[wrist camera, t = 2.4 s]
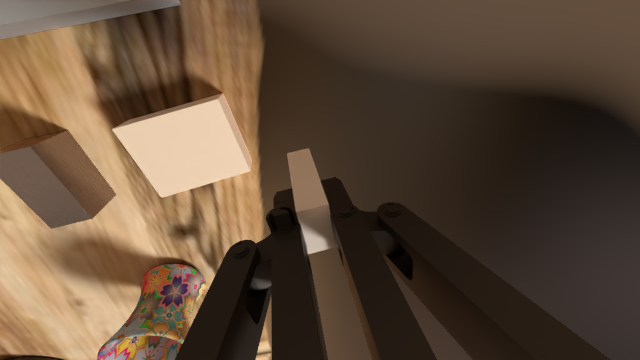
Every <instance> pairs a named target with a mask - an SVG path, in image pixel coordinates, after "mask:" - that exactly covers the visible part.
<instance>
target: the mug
mask: <svg viewBox="0 0 640 360" xmlns="http://www.w3.org/2000/svg"><path fill="white" fill-rule="evenodd" d="M205 287H206V282H205V279H204V277H203V275H202V274H201V273H200V272H199V271H197V270H196V269H194V268H192V267H190V266H186V265H182V264H165V265H161V266H157V267H155V268H153V269H151V270H150V271H148V272H147V273H146V274H145V275H144V277H143V278H142V281H141V296H140V299H139V302H138V304H137V306H136V308H135V310H134V311H133V313H132V314H131V316H130V317H129V319H128V320H127V321H126V323H125V324H124V325H123V326H122V327H121V328H120V330H119V331H118V332H117V333H116V334H115V335H114V336H113V337H111V338H110V339H109V340H108V341H107V342H106V343H105V344H104V345H103V346H102V347H101V349H100V350H99V352H98V360H175V358H176V356H177V354H178V352H179V350H180V348H181V345H182V343H183V341H184V339H185V337H186V335H187V333H188V331H189V329H190V319H191V314H192V311H193V308H194V305H195V303H196V301H197V300H198V298H199V297H200V296H201V295H202V293H203V292H204V290H205Z"/></svg>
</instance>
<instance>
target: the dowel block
mask: <svg viewBox="0 0 640 360" xmlns="http://www.w3.org/2000/svg"><path fill="white" fill-rule="evenodd" d="M177 5H181V4H180V1H179V0H0V39H5V38H10V37H15V36H21V35H26V34H31V33H36V32H42V31H47V30H52V29H57V28H62V27H68V26H73V25H78V24H83V23H89V22H94V21H99V20H104V19H109V18H115V17H120V16H125V15H130V14H136V13H141V12H146V11H151V10H156V9H162V8H167V7H172V6H177Z"/></svg>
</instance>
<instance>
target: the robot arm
mask: <svg viewBox="0 0 640 360" xmlns="http://www.w3.org/2000/svg"><path fill="white" fill-rule="evenodd" d="M287 156H288V162H289V169H290V176H291V183H292V188H291V189H287V190H283V191H279V192H277V193H276V195H275V196H274V209H272V210H271V211H270V212H269V213H268V214H267V216H266V220H267V223H268V225H269V228H270V230H271V234H270V235H269V236H268V237H267V238H265V239H263V240H262V241H260V242H258V243H256V244H255V242H253V241H252V240H243V241H240V242H238V243H236V244H234V245H233V246H232V247H230V249H229V250H228V251H227V253H226V255H225V257H224V259H223V261H222V263H221V265H220V267H219V269H218V272H217V274H216V276H215V278H214V280H213V282H212V284H211V286H210V288H209V290H208V292H207V294H206V296H205V298H204V300H203V302H202V304H201V306H200V308H199V311H198V313H197V315H196V317H195V319H194V321H193V323H192V325H191V327H190V329H189V331H188V333H187V335H186V337H185V339H184V341H183V343H182V345H181V348H180V350H179V352H178V354H177V356H176V358H175V360H255V359H256V355H257V351H258V346H259V342H260V338H261V334H262V330H263V326H264V322H265V318H266V314H267V309H268V305H269V301H270V297H271V299H272V360H328V357H327V351H326V345H325V340H324V335H323V329H322V323H321V318H320V312H319V307H318V302H317V297H316V291H315V285H314V280H313V275H312V269H311V263H310V260H309V256H308V254H311V253H314V252H318V251H322V250H326V249H330V248H333V247H338V252H339V257H340V262H341V265H342V266H343V269H344V272H345V275H346V279H347V281H348V285H349V288H350V291H351V294H352V297H353V300H354V304H355V307H356V310H357V313H358V316H359V319H360V323H361V325H362V329H363V332H364V335H365V338H366V342H367V345H368V348H369V351H370V354H371V357H372V360H437V359H436V357H435V355H434V353H433V351H432V349H431V347H430V345H429V344H428V342H427V340H426V338H425V336H424V334H423V332H422V330H421V328H420V326H419V324H418V322H417V320H416V318H415V317H414V315H413V313H412V311H411V309H410V307H409V305H408V303H407V301H406V299H405V297H404V295H403V293H402V292H401V290H400V288H399V286H398V284H397V282H396V280H395V278H394V276H393V274H392V272H391V270H390V269H389V266H390V267H391V268H392V269H393V270H394V271H395V273H396V274H397V275H398V276H399V277H400V278H401V279H402V281H403V282H404V283H405V284H406V285H407V286H408V287H409V288H410V289H411V291H413V293H414V294H415V295H416V296H417V297H418V299H419V300H420V301H421V302H422V303H423V304H424V305H425V306H426V307H427V309H428V310H429V311H430V312H431V313H432V314H433V315H434V317H435V318H436V319H437V320H438V321H439V322H440V323H441V324H442V326H443V327H444V328H445V329H446V330H447V331H448V332H449V333H450V335H451V336H452V337H453V338H454V339H455V340H456V341H457V342H458V344H459V345H460V346H461V347H462V348H463V349H464V350H465V351H466V353H467V354H468V355H469V356H470V357H471V358H472V359H473V360H610V359H609V358H607V357H606V356H605V355H604V354H602V353H601V352H599V351H598V350H597V349H595V348H594V347H593V346H591V345H590V344H589V343H587V342H586V341H585V340H583V339H582V338H581V337H579V336H578V335H577V334H575V333H574V332H573V331H571V330H570V329H568V328H567V327H566V326H565V325H563V324H562V323H561V322H559V321H558V320H556V319H555V318H554V317H553V316H551V315H550V314H549V313H547V312H546V311H544V310H543V309H542V308H541V307H539V306H538V305H536V304H535V303H534V302H532V301H531V300H530V299H528V298H527V297H526V296H524V295H523V294H522V293H520V292H519V291H518V290H516V289H515V288H514V287H512V286H511V285H510V284H508V283H507V282H506V281H504V280H503V279H502V278H500V277H499V276H498V275H496V274H495V273H493V272H492V271H491V270H490V269H488V268H487V267H486V266H484V265H483V264H482V263H480V262H479V261H477V260H476V259H475V258H473V257H472V256H471V255H469V254H468V253H467V252H465V251H464V250H463V249H461V248H460V247H459V246H457V245H456V244H455V243H453V242H452V241H450V240H449V239H448V238H447V237H445V236H444V235H442V234H441V233H440V232H439V231H437V230H436V229H435V228H433V227H432V226H431V225H429V224H428V223H426V222H425V221H424V220H423V219H421V218H420V217H418V216H417V215H416V214H414V213H413V212H412V211H410V210H409V209H408V208H406V207H405V206H404V205H401V204H400V203H395V202H388V203H384V204H382V205H380V206H379V207H378V209H377V212H365V211H361V210H359V209H358V208H357V207H356V206H354V205H353V204H352V201H351V200H350V198H349V196H348V194H347V192H346V190H345V188H344V186H343V184H342V182H341V180H339V179H338V178H336V177H333V178H330V179H325V180H322V181H320V179H319V176H318V173H317V170H316V167H315V164H314V162H313V159H312V156H311V153H310V151H309V149H304V150H300V151H296V152H291V153H287ZM387 264H388V265H389V266H388V265H387ZM7 360H58V359H52V358H41V357H23V358H13V359H7Z"/></svg>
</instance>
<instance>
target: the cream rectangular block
mask: <svg viewBox="0 0 640 360" xmlns="http://www.w3.org/2000/svg"><path fill="white" fill-rule="evenodd" d="M112 130H113V132H114V133H115V135H116V136H117V137H118V139H119V140H120V141H121V143H122V144H123V146H124V147H125V148H126V150H127V151H128V152H129V154H130V155H131V157H132V158H133V159H134V161H135V162H136V163H137V165H138V166H139V168H140V169H141V170H142V172H143V173H144V174H145V176H146V177H147V179H148V180H149V181H150V183H151V184H152V186H153V187H154V188H155V190H156V191H157V192H158V194H159V195H160V197H161V198H163V197H166V196H169V195H173V194H176V193H179V192H183V191H186V190H189V189H193V188H196V187H199V186H203V185H206V184H209V183H213V182H216V181H219V180H222V179H226V178H229V177H232V176H236V175H239V174H242V173H246V172H249V171H250V170H251V162H252V159H251V156H250V154H249V152H248V149H247V147H246V145H245V142H244V140H243V138H242V136H241V133H240V131H239V129H238V126H237V124H236V122H235V119H234V117H233V115H232V112H231V110H230V108H229V105H228V103H227V101H226V98H225V96H224V94H223V93H221V94H218V95H214V96H211V97H207V98H204V99H200V100H197V101H193V102H190V103H186V104H183V105H179V106H176V107H172V108H169V109H165V110H162V111H158V112H155V113H151V114H148V115H144V116H141V117H137V118H133V119H130V120H128V121H126V122H124V123H122V124H120V125H119V126H117V127H115V128H113V129H112Z"/></svg>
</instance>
